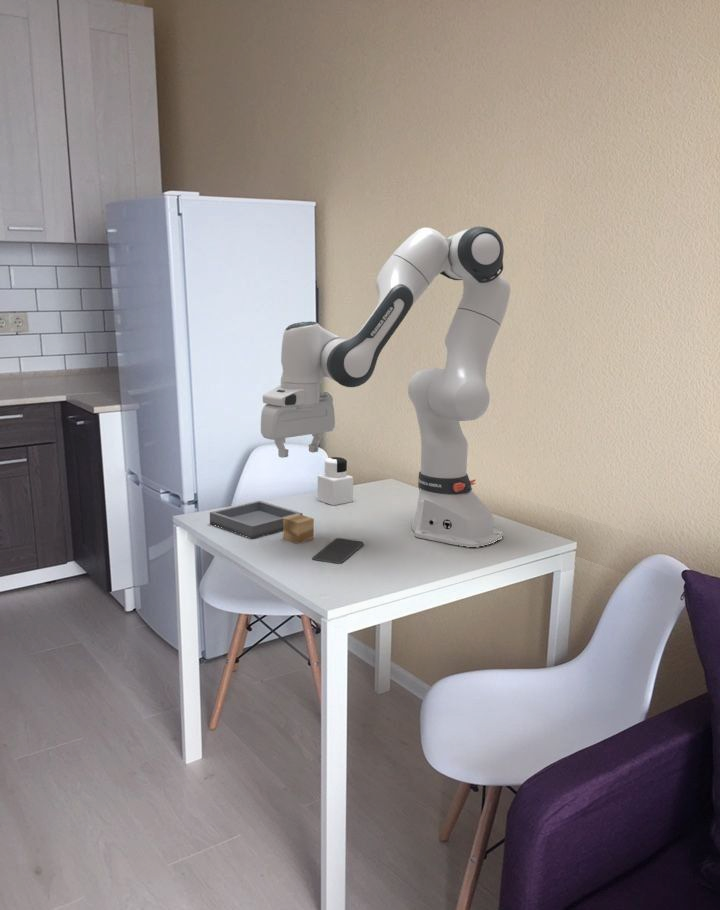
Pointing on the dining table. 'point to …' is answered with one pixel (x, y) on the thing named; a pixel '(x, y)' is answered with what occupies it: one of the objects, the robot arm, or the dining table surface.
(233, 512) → the sorting tray
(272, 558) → the dining table surface
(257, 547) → the dining table surface
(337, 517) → the dining table surface
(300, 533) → the oversize block
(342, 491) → the medicine bottle
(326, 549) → the smartphone
